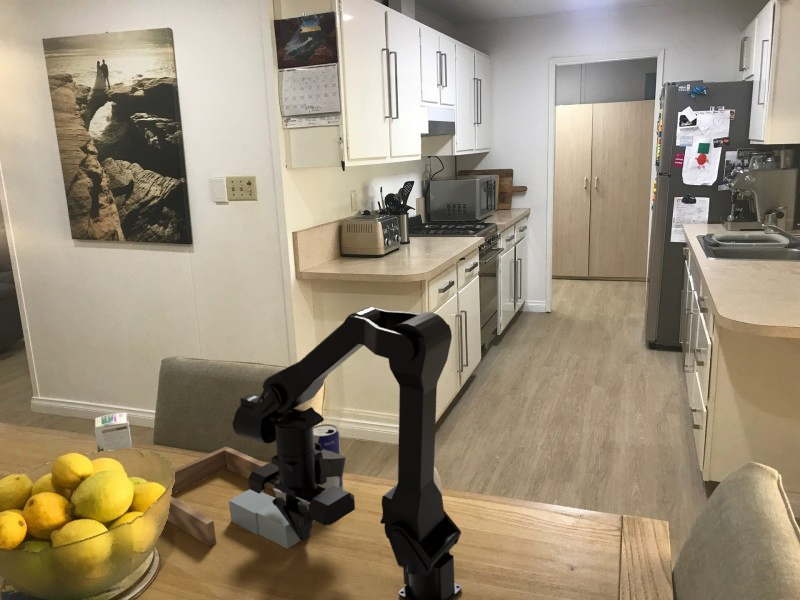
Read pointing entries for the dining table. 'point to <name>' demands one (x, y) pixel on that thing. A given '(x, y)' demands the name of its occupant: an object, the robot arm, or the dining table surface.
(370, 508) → the dining table surface
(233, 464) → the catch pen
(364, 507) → the dining table surface
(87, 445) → the dining table surface
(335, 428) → the energy drink
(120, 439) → the syrup box
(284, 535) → the light grey block
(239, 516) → the pale grey block
